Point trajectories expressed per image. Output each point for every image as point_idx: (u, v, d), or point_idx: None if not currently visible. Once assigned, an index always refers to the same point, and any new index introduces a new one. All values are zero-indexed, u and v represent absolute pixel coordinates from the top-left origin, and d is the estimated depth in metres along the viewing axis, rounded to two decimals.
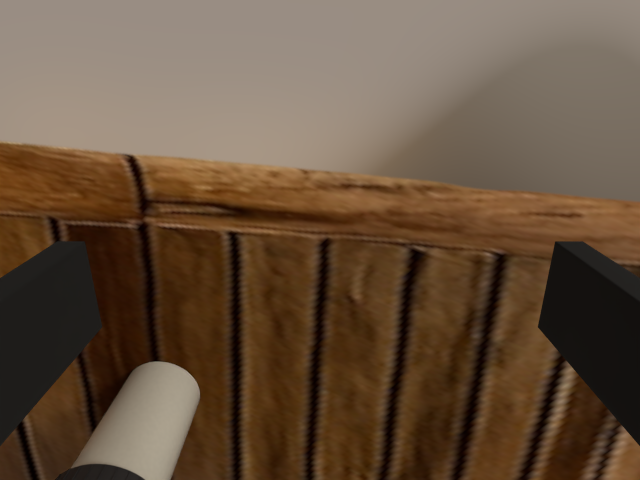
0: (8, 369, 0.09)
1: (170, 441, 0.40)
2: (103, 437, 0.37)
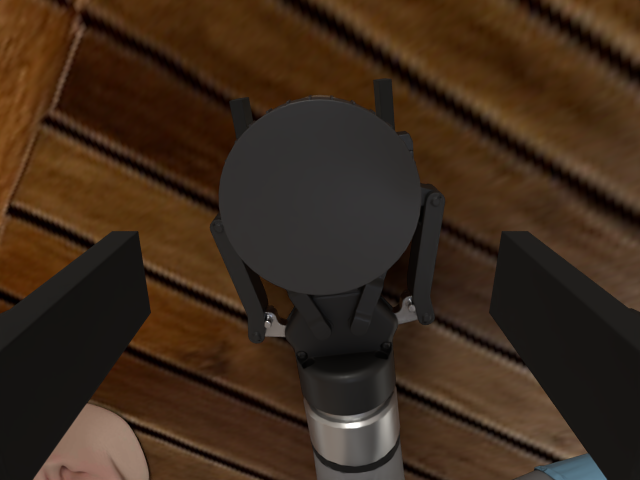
0: (83, 345, 0.10)
1: None
2: None
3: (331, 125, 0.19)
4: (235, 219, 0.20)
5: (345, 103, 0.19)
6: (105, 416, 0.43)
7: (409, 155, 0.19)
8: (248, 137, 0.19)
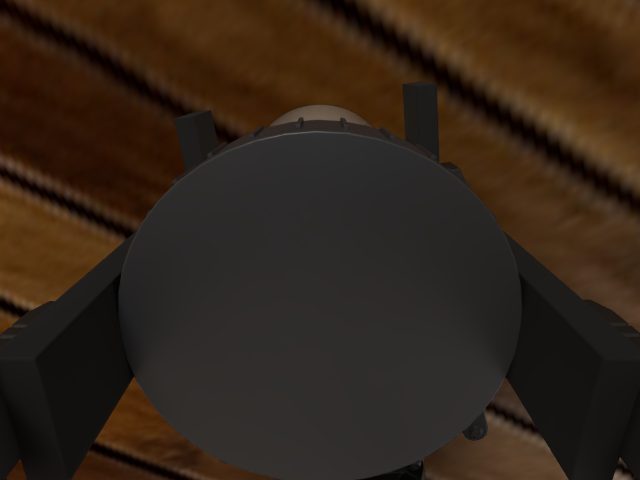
0: None
1: None
2: None
3: (343, 185, 0.09)
4: (154, 360, 0.10)
5: (375, 139, 0.09)
6: None
7: (505, 244, 0.09)
8: (169, 209, 0.09)
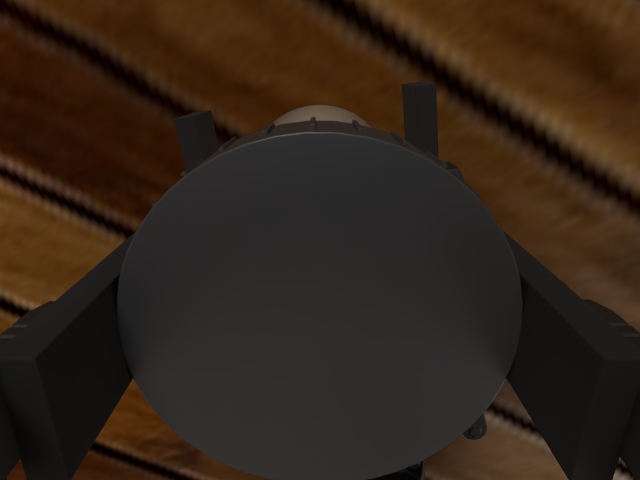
0: None
1: None
2: None
3: (163, 324, 0.10)
4: (351, 464, 0.11)
5: (118, 302, 0.10)
6: None
7: (196, 172, 0.09)
8: (205, 445, 0.11)
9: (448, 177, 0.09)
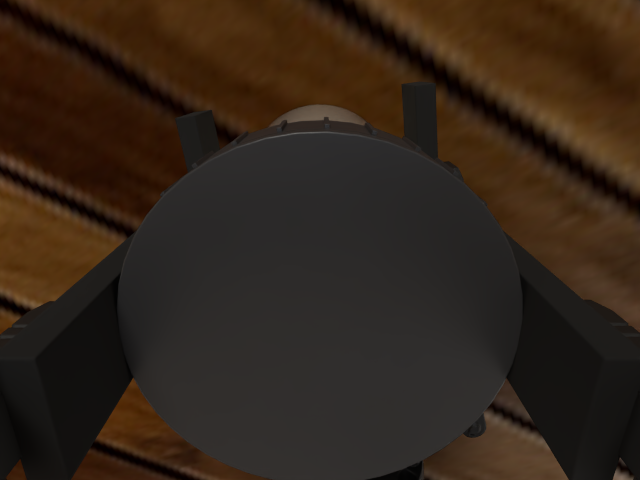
0: None
1: None
2: None
3: (312, 454, 0.11)
4: (493, 298, 0.10)
5: None
6: None
7: (171, 425, 0.11)
8: (452, 431, 0.11)
9: (138, 238, 0.09)
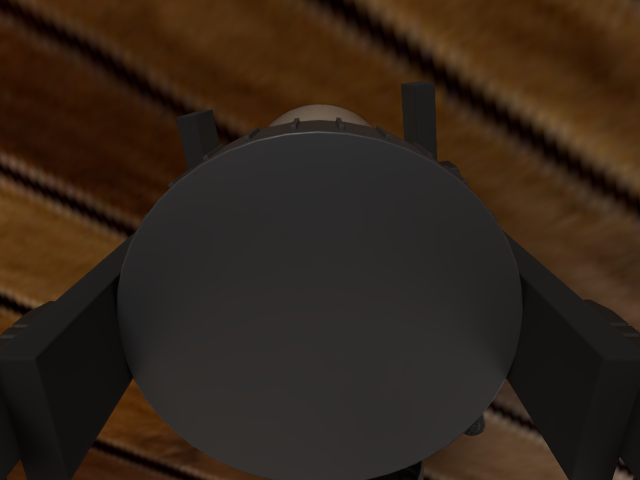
0: None
1: (328, 120, 0.16)
2: None
3: (475, 338, 0.10)
4: (261, 173, 0.09)
5: (514, 355, 0.10)
6: None
7: (425, 456, 0.11)
8: (450, 190, 0.09)
9: (233, 464, 0.12)
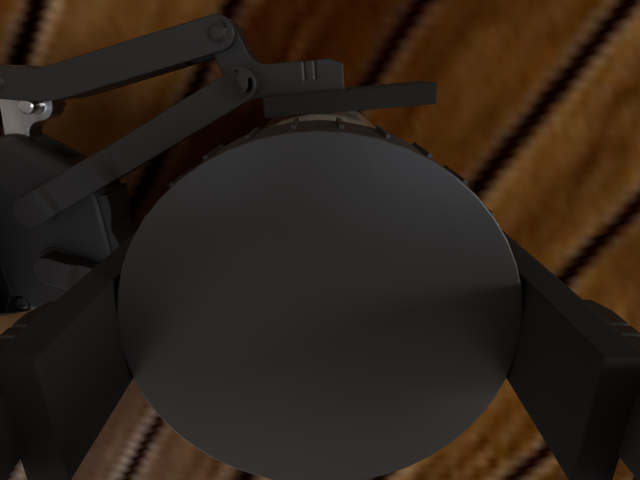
0: None
1: None
2: None
3: (475, 338, 0.10)
4: (261, 173, 0.09)
5: (513, 355, 0.10)
6: None
7: (425, 456, 0.11)
8: (450, 190, 0.09)
9: (233, 464, 0.12)
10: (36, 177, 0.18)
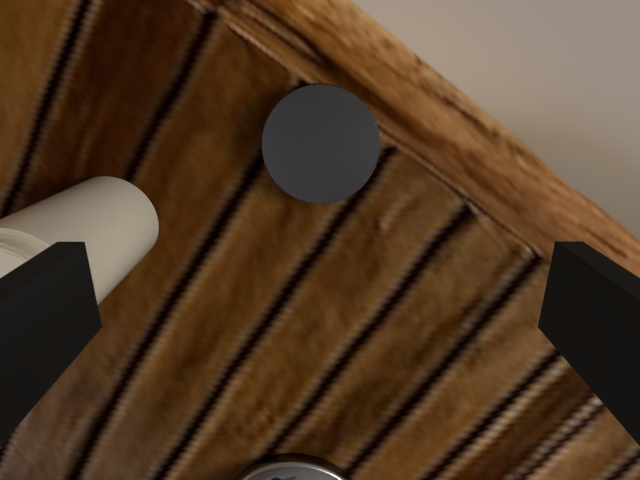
0: (8, 368, 0.09)
1: (118, 265, 0.31)
2: (45, 213, 0.28)
3: (366, 147, 0.34)
4: (305, 96, 0.33)
5: (378, 153, 0.35)
6: None
7: (354, 192, 0.36)
8: (355, 100, 0.33)
9: (292, 195, 0.36)
10: None
